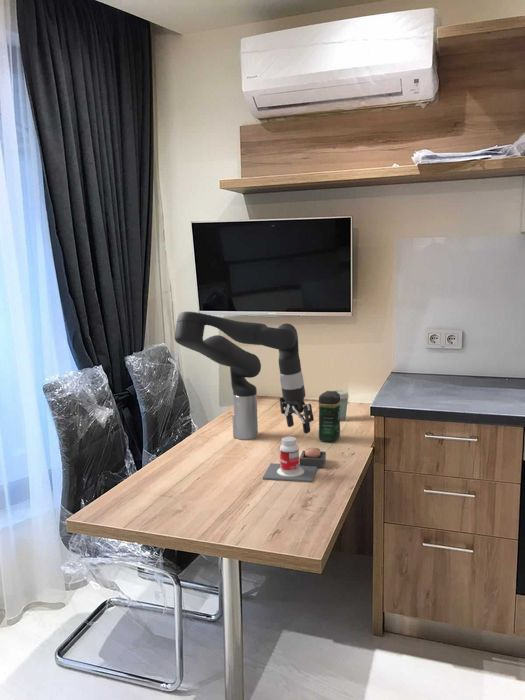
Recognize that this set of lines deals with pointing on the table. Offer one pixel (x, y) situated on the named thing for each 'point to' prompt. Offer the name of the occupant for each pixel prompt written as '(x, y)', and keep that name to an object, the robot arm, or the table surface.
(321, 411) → the coffee jar
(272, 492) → the table surface
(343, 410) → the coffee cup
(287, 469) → the pill bottle
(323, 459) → the button housing
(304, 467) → the grey rectangular pad
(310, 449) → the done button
